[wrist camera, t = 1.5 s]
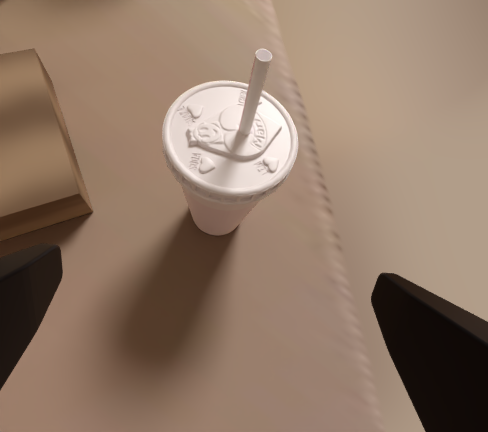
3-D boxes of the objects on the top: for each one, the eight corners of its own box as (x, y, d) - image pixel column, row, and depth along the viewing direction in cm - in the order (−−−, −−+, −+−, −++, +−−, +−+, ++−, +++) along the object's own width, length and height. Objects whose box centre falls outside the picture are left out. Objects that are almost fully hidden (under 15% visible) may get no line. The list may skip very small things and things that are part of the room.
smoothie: (268, 245, 23) (364, 126, 10) (179, 261, 22) (162, 147, 9) (249, 168, 25) (309, -11, 13) (166, 178, 24) (138, -12, 11)
